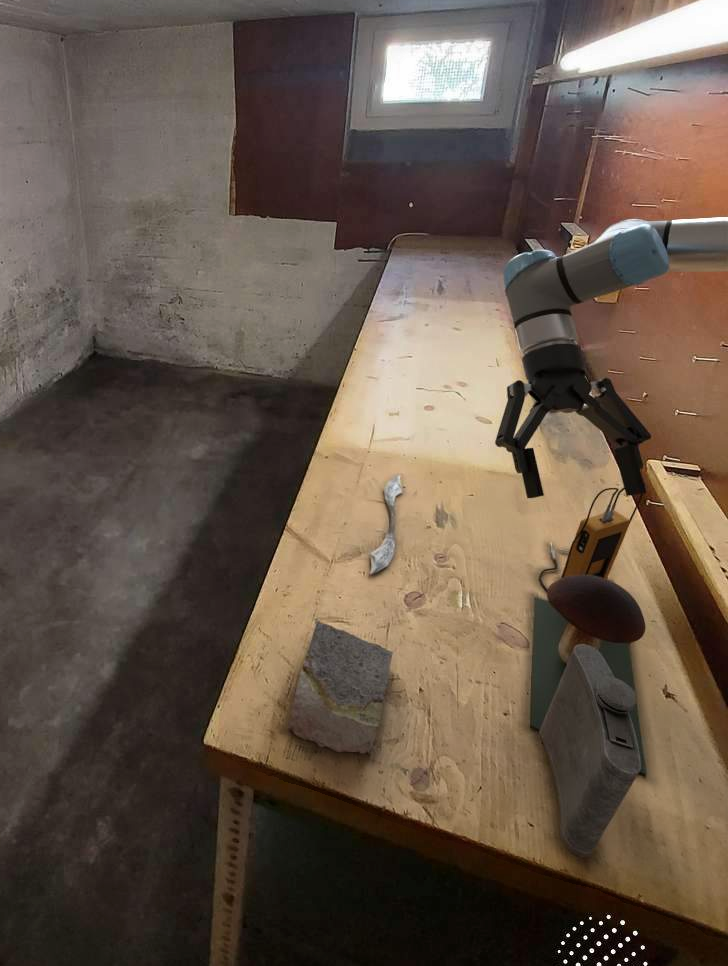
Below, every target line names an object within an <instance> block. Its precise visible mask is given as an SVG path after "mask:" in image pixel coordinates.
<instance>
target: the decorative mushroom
mask: <svg viewBox="0 0 728 966" xmlns="http://www.w3.org/2000/svg"><path fill="white" fill-rule="evenodd" d="M560 578H561V577H560ZM560 578H559V579H557V580H555V581H554V582H552V583H550V585H549V586H548V588H547V589H548V590H547V591H546V598H547V601H549V603H550V604H551V605H552V606H553V608H554V609H555V610H557V611H558V612H559V613H560V614H561V615H562V616H563V617H564V618H565V619H566V620H567V621H568V622H569V624H568V625H567V627H566V629H565V631H564V633H563V636H562V638H561V640H560V643H559V654H560V657H561V659H562V660H563V661H564V662H565V663H566V664H568V661H569V659H570V657H571V654H572V652H573V649H574V647H575V646H576V645H579V644H585V645H588V646H591V647H593V648H594V649H596V650H597V651H598V650H599V647H600V643H601V640H604V641H607V642H613V643H629V644H630V643H634V642H638V641H639V640H640V639H642V637H643V636H644V635H645V633H646V629H647V628H646V621H645V617H644V614H643V612H642V611H643V610H642V609H641V607H640V605H639V603H638V602H637V600H636V599H635V598H634V596H632V594H631V593H630V592H629V591H627V590H626V589H625V588H624V587H622V586H621V585H619V584H617V583H615V582H614V581H612V580H610V579H608V578H607V579H604V578H601V577H598V576H593V575H585V574H583V575H582V574H580V575H570V576H566V577H563V578H561V579H560Z"/></svg>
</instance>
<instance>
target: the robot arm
mask: <svg viewBox="0 0 728 966" xmlns="http://www.w3.org/2000/svg"><path fill="white" fill-rule="evenodd" d="M669 272H670V273H675V272H677V273H678V272H680V273H681V272H682V273H683V272H687V273H689V272H691V273H693V272H696V273H697V272H728V216H726V217H725V216H723V217H709V218H707V217H706V218H690V219H688V218H687V219H673V220H655V221H654V220H653V221H647V220H644V219H639V218H631V219H625V220H621V221H619V222H617V223H613V224H612V225H610V226H609V227H608V228H606V229H605V230H604V231H603V232H601V234H600V236H599V237H598V238H597V239H596V240H595V241H594V242H591V243H590V244H588V245H585V246H582V247H581V248H578V249H576V250H573V251H571V252H569V253H565V254H563V255H561V256H556V254H555V253H554V252H553V251H551V250H548V249H534V250H532V251H529V252H526V251H525V252H522V253H520V254H518V255H515V256H514V257H513V258H511V259H510V260H508V262H507V263H505V265H504V267H503V270H502V276H503V282H504V283H503V284H504V294H505V296H506V299H507V303H508V306H509V310H510V314H511V315H510V316H511V318H512V322H513V328H514V331H515V335H516V339H517V340H516V341H517V345H518V348H519V352H520V354H521V355H522V358H521V363H522V368H523V372H524V375H525V379H526V380H527V383H525V382H523V380H520V379H518V380H516V381H513V383H511V384H509V385H508V386H507V387H506V396H507V402H506V404H505V409H504V411H503V415H502V418H501V420H500V425H499V428H498V431H497V434H496V437H495V441H494V444H495V446H496V447H498V448H505V450H506V451H507V452H508V453H511V455H512V459H513V465H514V469H515V471H516V473H517V474H521V476H522V480H523V486H524V489H525V494H526V498H527V499H536V498H539V497H544V496H545V493H544V490H543V485H542V479H541V476H540V471H539V467H538V462H537V459H536V453H535V450H534V447H527V445H528V444H529V442H530V441H531V439H532V437H533V436H534V434H535V433H536V431H537V430H538V428H539V426H540V425H541V423H542V422H543V420H544V418H545V417H546V416H547V414H548V413H549V414H557V413H564V414H571V413H576V414H577V415H579V416H581V417H584V418H585V419H586V420H588V422H589V423H591V424H592V425H593V426H594V427H596V428H597V429H598V430H599V431H600V432H601V433H603V434H604V435H605V436H606V437H607V438H608V439H610V440H611V441H612V442H613V443H614V444H615V445H617V446H618V447H617V448H614V449H613V452H614V456H615V459H616V463H617V466H618V470H619V473H620V477H621V481H622V485H623V488H624V491H625V496H626V497H627V496H628V497H631V496H636V495H637V496H638V495H641V494H643V495H644V494H647V489H646V484H645V485H644V483H645V481H644V479H643V475H642V471H641V470H643V469H644V462H643V458H642V455H641V451H640V448H639V446H640V445H641V444H643V443H644V442H646V441H649V440H651V438H652V435H651V433H650V432H649V430H648V429H647V428H646V427H645V425H644V424H643V423H642V422H641V421H640V420H639V418H638V417H637V416H636V415H635V413H634V412H633V411H632V410H631V409H630V407H629V406H628V405H627V404H626V403H625V401H624V400H623V399H622V398H621V397H620V395H619V394H618V393H617V392H616V388H615V387H614V385H613V382H612V380H611V379H610V378H608V377H604V378H602V379H599V380H595V381H589V380H588V378H587V376H586V370H587V369H586V368H587V365H586V362H585V359H584V355H583V351H582V347H581V346H579V345H578V344H579V342H580V338H579V335H578V332H577V329H576V325H575V321H574V317H573V314H572V311H571V307H572V306H575V305H579V304H582V303H584V302H587V301H590V300H593V299H596V298H597V299H598V298H599V297H602V296H605V295H608V294H613V293H615V292H618V291H621V290H624V289H628V288H631V287H633V286H641V285H643V284H644V283H646V282H649V281H651V280H653V279H655V278H658V277H661V276H663V275H665V274H666V273H669ZM590 393H591V394H590ZM528 395H529V396H530V397H531V399H533V400H534V401H535V402H534V403H533V404H532V406H531V408H530V409H529V413H528V414H527V416H526V418H525V419H524V421H523V422H522V424H521V426H520V427H519V429H518V430H517V427H518V423H519V421H520V417H521V413H522V409H523V407H524V403H525V400H526V397H528ZM594 397H595V398H594ZM516 431H517V432H516ZM526 447H527V448H526Z"/></svg>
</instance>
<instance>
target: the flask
mask: <svg viewBox="0 0 728 966" xmlns="http://www.w3.org/2000/svg"><path fill="white" fill-rule="evenodd" d="M636 702H637V703H638V697H637V694H636V691H635V692H634V691H633V690H632V688H631V687H630V686H629V685H627V684H626V683H625V682H623V681H622V680H619V679H617V678H615V677H614V676H613V674H612V672H611V670H610V668H609V666H608V665H607V663H606V661H605V660H604V658H603V656H602V655H601V654H600V653H599V652H598V651H597V650H596V649H594V648H593V647H591V646H588V645H585V644H579V645H576V646H575V647H574V649H573V652H572V654H571V657H570V659H569V661H568V664H567V666H566V669H565V671H564V673H563V676H562V678H561V681H560V683H559V685H558V688H557V690H556V693H555V695H554V697H553V700H552V702H551V705H550V707H549V709H548V712H547V714H546V717H545V719H544V721H543V724H542V726H541V729H540V731H539V737H540V740H541V742H542V744H543V746H544V749H545V752H546V755H547V757H548V761H549V764H550V767H551V771H552V775H553V779H554V782H555V788H556V792H557V798H558V805H559V806H558V807H559V814H560V837H561V840H562V842H563V844H564V845H565V847H566V848H567V850H569V851H570V852H571V853H572V854H574V855H576V856H577V857H580V858H588V857H590V856H591V855H592V854H593V852H594V850H595V848H596V846H597V845H598V843H599V841H600V840H601V838H602V837H603V835H604V833H605V831H606V829H607V828H608V826H609V825H610V823H611V821H612V819H613V818H614V816H615V814H616V813H617V811H618V809H619V808H620V806H621V804H622V802H623V801H624V799H625V798H626V795H627V794H628V792H629V790H630V789H631V787H632V785H633V783H634V782H635V780H636V779H637V776H638V775H639V774H640V773H639V772H640V769H641V761H640V754H639V748H638V743H637V738H636V734H635V730H634V727H633V723H632V720H631V717H630V714H629V711H630V710H631V709H633V707H634V705H635V704H636ZM628 710H629V711H628Z"/></svg>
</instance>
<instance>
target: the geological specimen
mask: <svg viewBox="0 0 728 966" xmlns="http://www.w3.org/2000/svg"><path fill="white" fill-rule="evenodd" d="M393 653H394V652H393V651H391V650H388V649H386V648H385V647H383V646H381V645H380V644H378V643H373V642H369V641H367V640H364V639H362V638H360V637H358V636H357V635H355V634H353V633H352V634H351V633H350V632H348V631H346V630H345V629H339V628H336V627H334V626H333V625H330V624H328V623H324V622H322V621H320V620H316V623H315V627H314V629H313V633H312V636H311V639H310V642H309V645H308V649H307V652H306V655H305V658H304V661H303V665H302V669H301V671H300V672H299V677H298V681H297V684H296V689H295V693H294V698H293V701H292V705H291V711H290V717H289V722H288V730H290V731H292V732H293V734H294V735H295V736H297V737H299V738H301V739H303V740H304V741H307V740H308V741H311V742H313V743H316V744H317V746H318V747H319V748H325V747H326V748H329V749H331V751H334V752H337V753H343V752H347V753H360V754H363V755H364V754H366V753H368V754H369V755H370V756H372V753H373V747H374V744H375V741H376V738H377V735H378V729H379V724H380V719H381V714H382V709H383V704H384V700H385V699H384V698H385V693H386V688H387V684H388V679H389V674H390V669H391V665H392V659H393Z"/></svg>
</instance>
